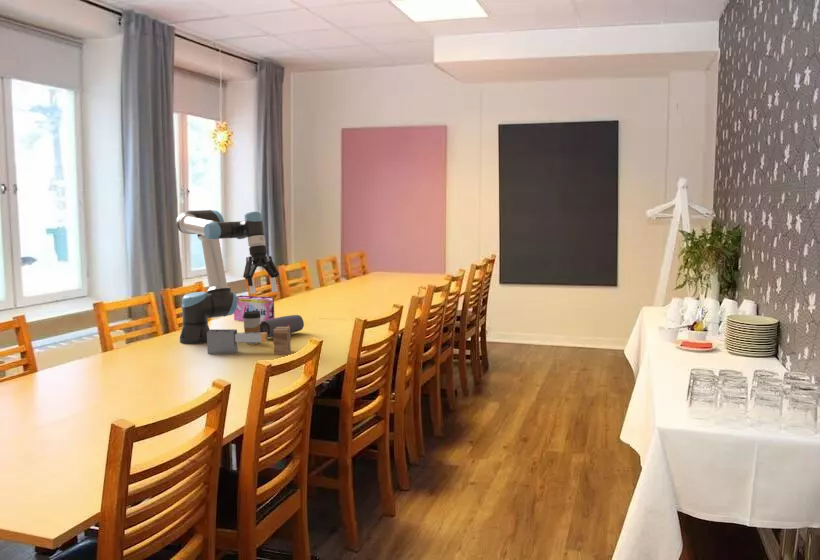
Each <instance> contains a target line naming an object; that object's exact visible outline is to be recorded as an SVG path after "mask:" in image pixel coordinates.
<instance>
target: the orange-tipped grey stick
mask: <svg viewBox="0 0 820 560" xmlns="http://www.w3.org/2000/svg"><path fill="white" fill-rule="evenodd" d="M267 341H268V338H267V332H263V333H245V332H237V333H234V342H237V343H246V342H259V343H266V342H267Z"/></svg>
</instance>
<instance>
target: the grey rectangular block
mask: <svg viewBox="0 0 820 560" xmlns="http://www.w3.org/2000/svg"><path fill="white" fill-rule="evenodd" d="M234 333H238V329H234V328H232V329H230V328H229V329H210V330H209V331H208V332H207V342H206V346H207V347H206V349H207V355H234V354H236V353H237V352H238V350H239V349H238V342H234Z"/></svg>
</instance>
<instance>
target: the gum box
mask: <svg viewBox="0 0 820 560" xmlns="http://www.w3.org/2000/svg"><path fill="white" fill-rule="evenodd" d="M236 296H237V308H236V311H235V312H234V313H233V319H234V320H239V322H244V319H243V315H244V312H249V311H257V312H259V313H260V316H261V317H260V323H261V322H263V321H265V320H269V319H273V318H276V317H275V298H274V297H271V296H255V295H243V294H242V295H236ZM234 320H233V321H234Z"/></svg>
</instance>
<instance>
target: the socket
mask: <svg viewBox="0 0 820 560" xmlns="http://www.w3.org/2000/svg"><path fill="white" fill-rule="evenodd" d="M273 334H274V338H273V354H274V355H289V354H290V352H291V348H292V347H291V335H290V327H276V328H275V329H274V330H273Z"/></svg>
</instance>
